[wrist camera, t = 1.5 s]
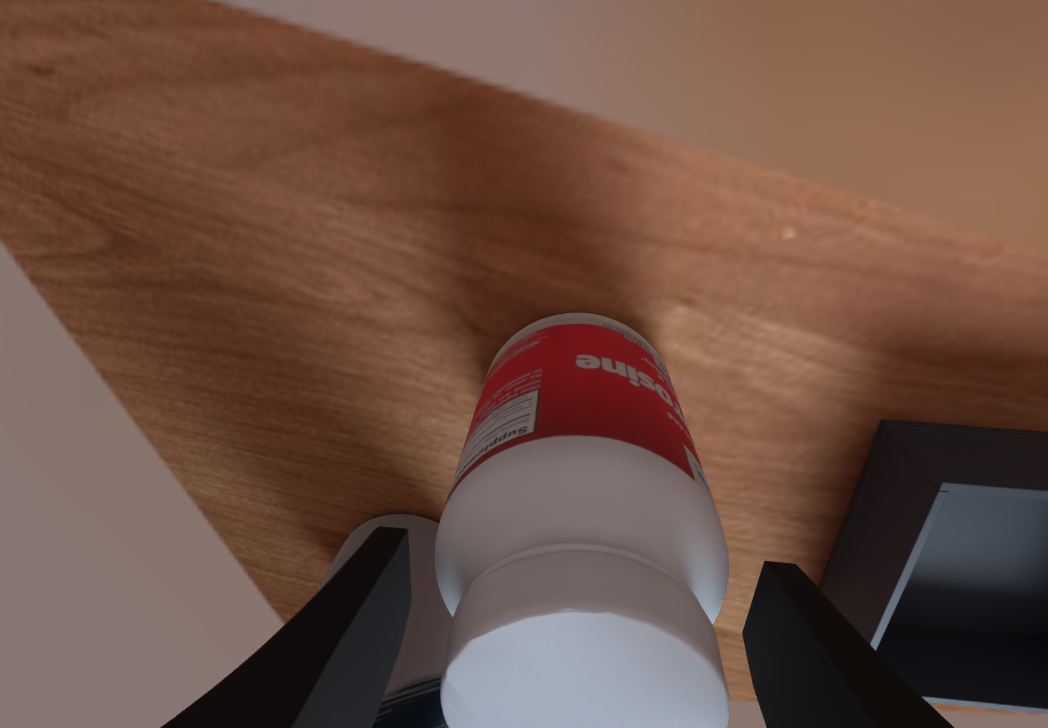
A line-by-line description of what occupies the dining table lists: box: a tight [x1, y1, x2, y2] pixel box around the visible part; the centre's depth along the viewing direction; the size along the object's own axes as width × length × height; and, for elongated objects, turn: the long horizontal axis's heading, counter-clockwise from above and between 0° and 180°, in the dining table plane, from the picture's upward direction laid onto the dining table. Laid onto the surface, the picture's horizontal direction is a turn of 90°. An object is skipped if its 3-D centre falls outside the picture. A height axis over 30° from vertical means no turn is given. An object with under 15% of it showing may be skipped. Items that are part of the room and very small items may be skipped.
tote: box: [819, 420, 1048, 714], centre depth 19 cm, size 9×9×3 cm
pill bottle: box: [435, 313, 730, 728], centre depth 14 cm, size 6×6×11 cm
